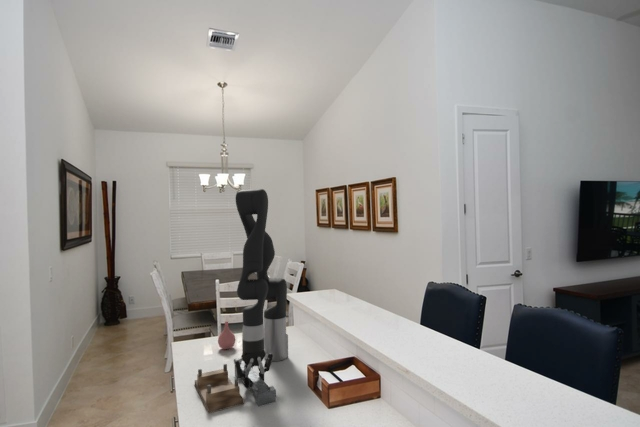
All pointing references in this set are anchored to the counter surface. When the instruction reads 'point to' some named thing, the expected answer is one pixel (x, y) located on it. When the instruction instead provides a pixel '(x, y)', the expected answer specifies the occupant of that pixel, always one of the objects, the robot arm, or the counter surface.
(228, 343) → the pink teardrop shape
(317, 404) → the counter surface
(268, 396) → the grey flared end bar
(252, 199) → the robot arm
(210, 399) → the rack
